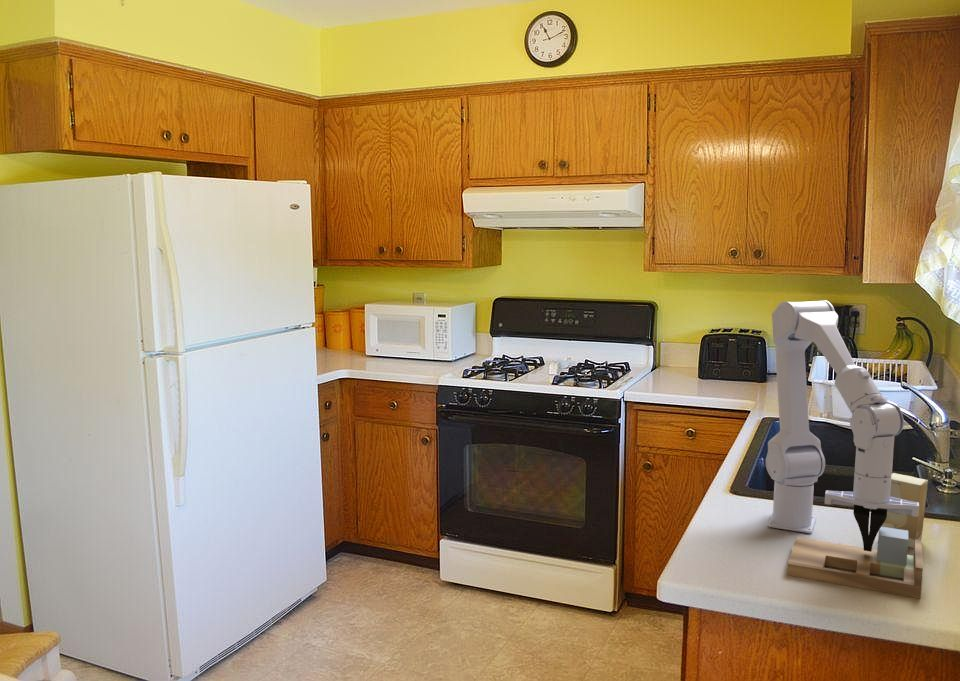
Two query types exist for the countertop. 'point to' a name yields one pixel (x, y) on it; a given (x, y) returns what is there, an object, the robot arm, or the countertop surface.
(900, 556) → the block
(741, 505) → the countertop surface
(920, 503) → the skincare box
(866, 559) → the board
